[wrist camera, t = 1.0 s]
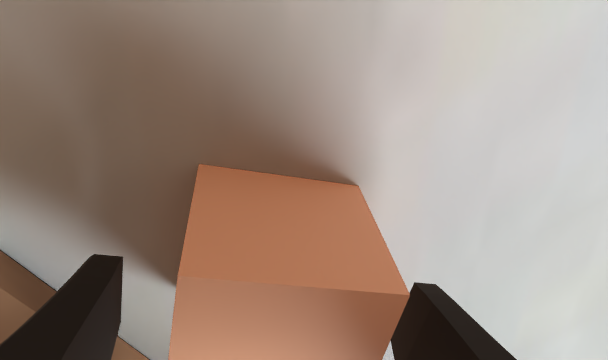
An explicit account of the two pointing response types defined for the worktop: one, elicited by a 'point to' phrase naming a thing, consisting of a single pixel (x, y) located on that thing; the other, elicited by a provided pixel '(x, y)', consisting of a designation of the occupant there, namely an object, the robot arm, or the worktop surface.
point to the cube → (282, 272)
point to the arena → (34, 304)
